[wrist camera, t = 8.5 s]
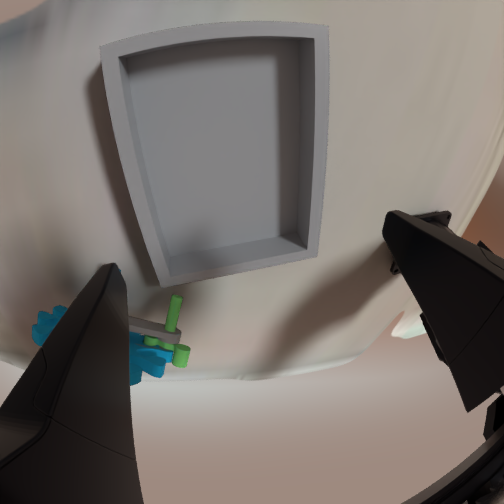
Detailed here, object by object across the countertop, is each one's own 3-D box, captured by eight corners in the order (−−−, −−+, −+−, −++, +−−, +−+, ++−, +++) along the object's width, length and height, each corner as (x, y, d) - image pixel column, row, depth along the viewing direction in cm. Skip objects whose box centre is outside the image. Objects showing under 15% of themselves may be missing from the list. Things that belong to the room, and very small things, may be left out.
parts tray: (307, 29, 12) (328, 25, 10) (303, 235, 21) (317, 256, 19) (111, 48, 10) (99, 46, 8) (161, 263, 19) (161, 287, 17)
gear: (56, 310, 19) (9, 363, 10) (66, 242, 19) (12, 257, 10) (176, 341, 23) (196, 410, 14) (192, 276, 23) (221, 315, 14)
